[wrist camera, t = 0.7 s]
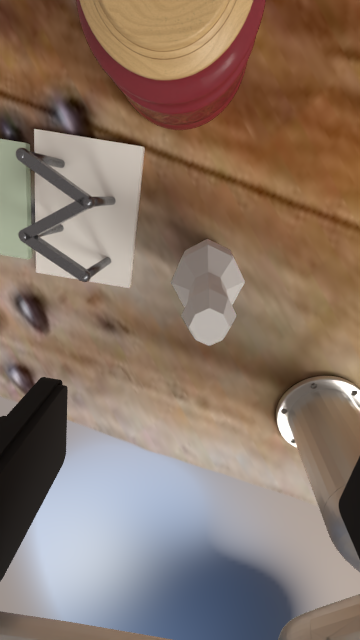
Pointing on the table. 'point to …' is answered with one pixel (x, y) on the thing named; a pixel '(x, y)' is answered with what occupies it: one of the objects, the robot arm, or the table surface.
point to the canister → (173, 53)
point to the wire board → (100, 221)
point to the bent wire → (59, 214)
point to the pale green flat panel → (14, 200)
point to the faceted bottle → (208, 290)
